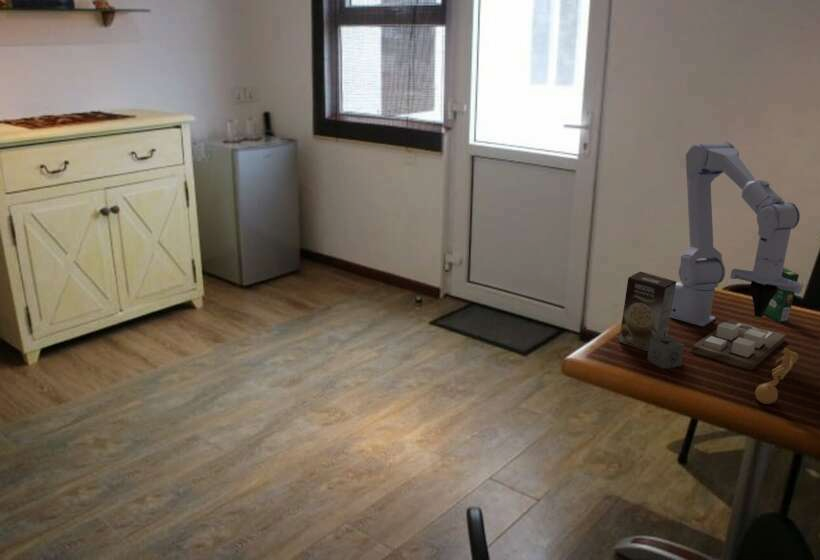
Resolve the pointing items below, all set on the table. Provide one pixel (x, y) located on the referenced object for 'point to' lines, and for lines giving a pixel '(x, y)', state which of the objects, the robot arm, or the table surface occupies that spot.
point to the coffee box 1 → (646, 309)
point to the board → (726, 356)
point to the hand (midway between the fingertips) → (758, 315)
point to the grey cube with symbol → (665, 352)
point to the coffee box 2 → (782, 300)
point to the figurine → (776, 378)
